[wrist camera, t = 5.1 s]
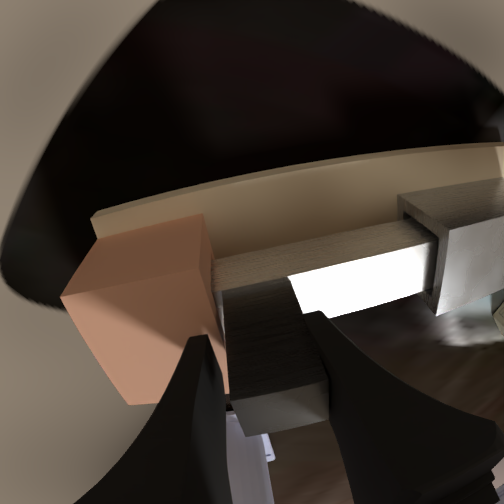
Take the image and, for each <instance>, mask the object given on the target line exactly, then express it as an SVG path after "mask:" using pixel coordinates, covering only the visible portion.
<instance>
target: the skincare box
mask: <svg viewBox="0 0 504 504" xmlns="http://www.w3.org/2000/svg"><path fill="white" fill-rule="evenodd" d="M493 317H494V320H495V322H496V324H497V326H498V328H499V330H500V332H501V334H502V335H503V336H504V302H503V303H502V305H501V306H500V307H499V308H498V310H497V311H496V312H495V313H494V314H493Z"/></svg>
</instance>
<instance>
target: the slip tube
mask: <svg viewBox="0 0 504 504" xmlns="http://www.w3.org/2000/svg"><path fill="white" fill-rule="evenodd" d="M439 239H440V238H439V237H438V236H437V235H436V234H434V233H433V232H432V231H430V230H429V229H428V228H427V227H425V226H424V225H423V224H421V223H420V222H419V221H417V220H416V219H415V218H413V217H412V218H407V219H402V220H398V221H393V222H388V223H384V224H379V225H374V226H370V227H365V228H360V229H356V230H351V231H346V232H341V233H337V234H332V235H327V236H323V237H318V238H313V239H309V240H304V241H299V242H295V243H290V244H285V245H280V246H276V247H271V248H266V249H262V250H257V251H252V252H248V253H243V254H238V255H234V256H229V257H224V258H220V259H215V260H211V292H212V295H213V298H214V302H215V305H216V308H217V311H218V315H219V318H220V321H221V324H222V327H223V330H224V334H225V345H226V358H227V371H228V383H229V395H230V402H231V405H232V407H233V409H234V412H235V414H236V416H237V419H238V421H239V423H240V426H241V428H242V430H243V433H244V435H245V437H250V436H256V435H261V434H267V433H272V432H277V431H281V430H286V429H291V428H295V427H299V426H304V425H308V424H312V423H316V422H320V421H323V420H327V419H329V380H328V377H327V374H326V372H325V369H324V366H323V364H322V361H321V358H320V356H319V353H318V350H317V348H316V346H315V344H314V342H313V341H312V339H311V337H310V335H309V332H308V330H307V327H306V324H305V322H304V319H303V316H302V315H303V313H308V312H312V311H316V310H321V311H323V312H324V313H325V315H326V316H327V317H328V318H329V317H333V316H337V315H341V314H345V313H348V312H352V311H356V310H360V309H363V308H367V307H370V306H374V305H377V304H381V303H384V302H388V301H391V300H394V299H398V298H401V297H404V296H408V295H411V294H414V293H417V292H420V291H424V290H427V289H430V288H433V285H434V279H435V272H436V264H437V257H438V248H439Z"/></svg>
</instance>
